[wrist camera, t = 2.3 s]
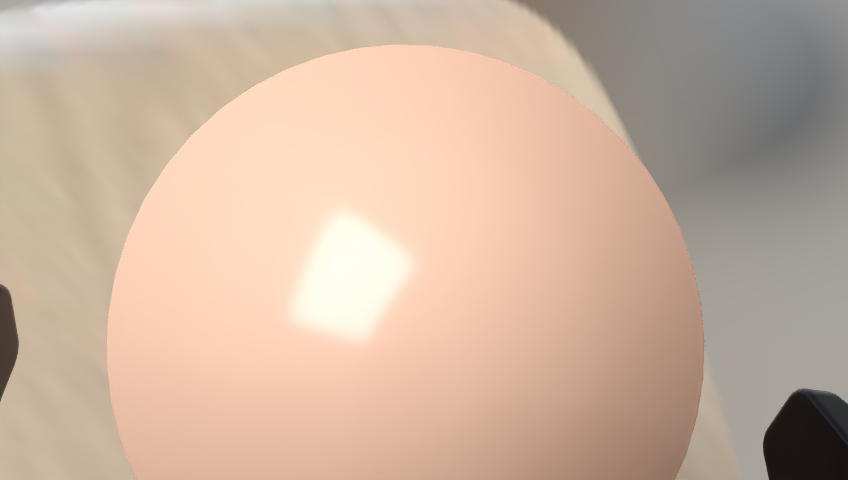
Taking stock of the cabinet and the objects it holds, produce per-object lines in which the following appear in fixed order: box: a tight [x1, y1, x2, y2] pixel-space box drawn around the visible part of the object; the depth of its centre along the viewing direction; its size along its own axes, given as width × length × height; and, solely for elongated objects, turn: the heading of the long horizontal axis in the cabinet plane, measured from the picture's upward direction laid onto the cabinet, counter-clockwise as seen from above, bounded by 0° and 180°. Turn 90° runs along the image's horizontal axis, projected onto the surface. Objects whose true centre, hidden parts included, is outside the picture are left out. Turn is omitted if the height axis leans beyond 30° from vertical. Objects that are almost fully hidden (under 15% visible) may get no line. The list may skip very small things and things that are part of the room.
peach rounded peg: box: [107, 45, 704, 480], centre depth 12 cm, size 5×5×11 cm
